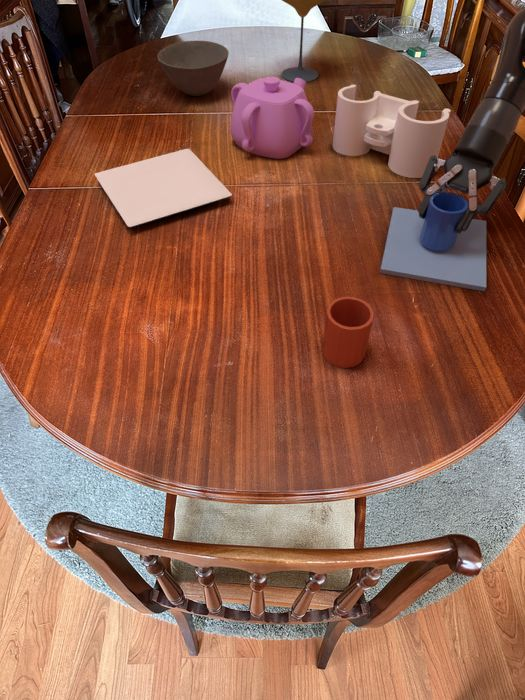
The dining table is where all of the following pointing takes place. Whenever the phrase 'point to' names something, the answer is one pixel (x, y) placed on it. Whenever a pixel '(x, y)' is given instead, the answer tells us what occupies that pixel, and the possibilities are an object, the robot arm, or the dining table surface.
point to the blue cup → (442, 220)
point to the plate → (161, 187)
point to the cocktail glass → (301, 42)
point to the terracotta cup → (347, 331)
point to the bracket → (387, 131)
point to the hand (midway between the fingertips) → (439, 224)
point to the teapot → (271, 117)
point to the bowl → (194, 65)
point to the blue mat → (435, 253)
